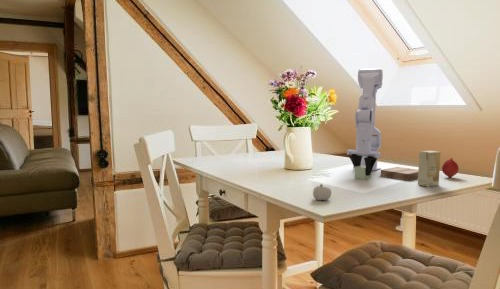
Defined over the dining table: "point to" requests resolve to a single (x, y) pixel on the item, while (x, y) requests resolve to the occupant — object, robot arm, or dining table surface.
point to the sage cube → (361, 172)
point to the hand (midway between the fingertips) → (362, 174)
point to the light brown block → (400, 173)
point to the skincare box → (429, 168)
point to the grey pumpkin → (322, 192)
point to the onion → (450, 168)
